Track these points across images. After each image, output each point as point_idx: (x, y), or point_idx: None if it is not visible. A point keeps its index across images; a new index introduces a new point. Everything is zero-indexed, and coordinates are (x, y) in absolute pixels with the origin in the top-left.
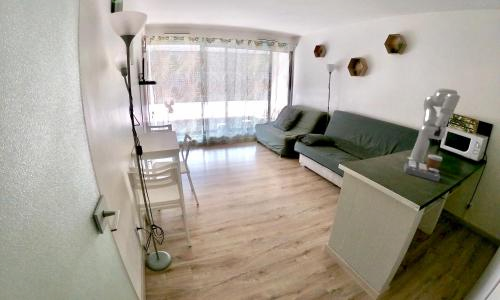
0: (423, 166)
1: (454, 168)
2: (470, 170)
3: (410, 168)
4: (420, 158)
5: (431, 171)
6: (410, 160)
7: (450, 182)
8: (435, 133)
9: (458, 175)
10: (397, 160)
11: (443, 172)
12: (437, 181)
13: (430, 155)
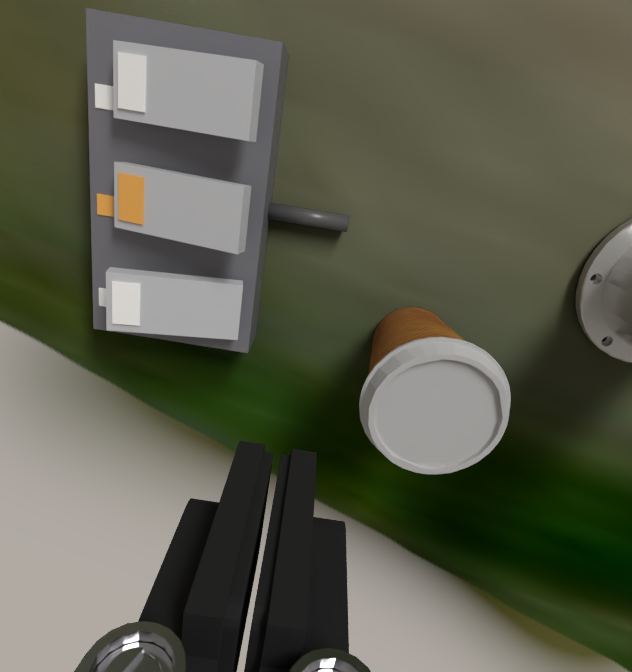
0: (177, 211)
1: (589, 567)
2: (605, 656)
3: (102, 58)
4: (621, 317)
5: None
6: (253, 76)
7: (184, 406)
8: (218, 510)
9: (414, 529)
10: (535, 38)
11: None
12: None
13: (428, 358)
